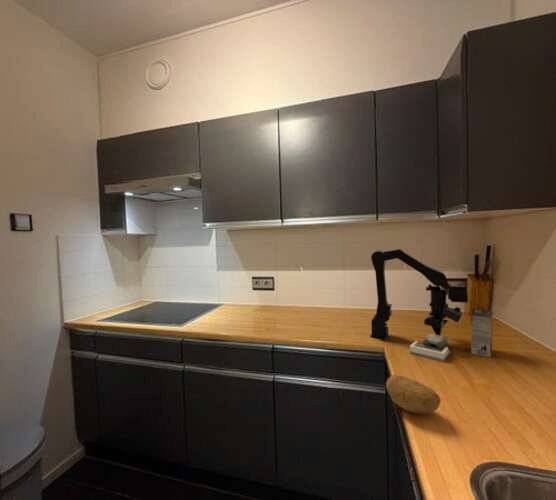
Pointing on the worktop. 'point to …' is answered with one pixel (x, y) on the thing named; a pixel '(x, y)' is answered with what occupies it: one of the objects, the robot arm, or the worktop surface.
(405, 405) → the potato
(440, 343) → the trolley
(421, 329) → the worktop surface
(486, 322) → the coffee box
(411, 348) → the dock
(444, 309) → the robot arm
